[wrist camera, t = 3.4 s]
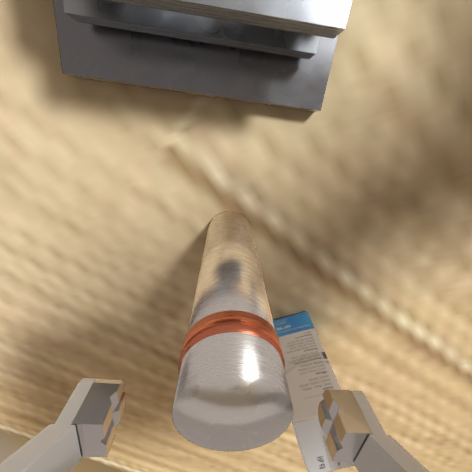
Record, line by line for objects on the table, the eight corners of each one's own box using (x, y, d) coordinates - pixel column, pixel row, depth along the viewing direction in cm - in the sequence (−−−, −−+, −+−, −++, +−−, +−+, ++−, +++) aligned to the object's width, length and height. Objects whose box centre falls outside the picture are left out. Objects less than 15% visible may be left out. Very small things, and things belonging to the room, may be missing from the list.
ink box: (268, 319, 31) (300, 471, 17) (307, 309, 30) (372, 457, 17) (282, 365, 34) (319, 524, 20) (318, 357, 33) (379, 513, 20)
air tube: (255, 212, 25) (309, 376, 9) (249, 253, 27) (282, 454, 10) (209, 207, 25) (170, 368, 8) (205, 249, 26) (168, 450, 10)
